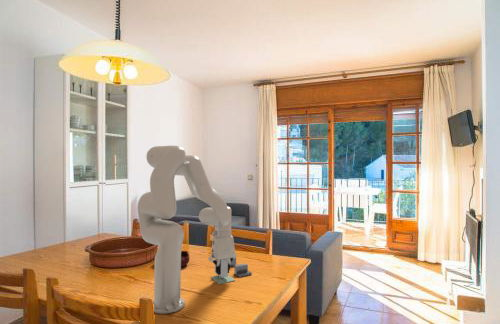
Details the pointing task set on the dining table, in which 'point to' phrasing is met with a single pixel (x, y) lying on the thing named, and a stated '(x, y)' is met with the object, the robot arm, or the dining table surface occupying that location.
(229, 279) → the mat
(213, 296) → the dining table surface
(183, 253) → the ashtray
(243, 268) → the vise
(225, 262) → the hook
